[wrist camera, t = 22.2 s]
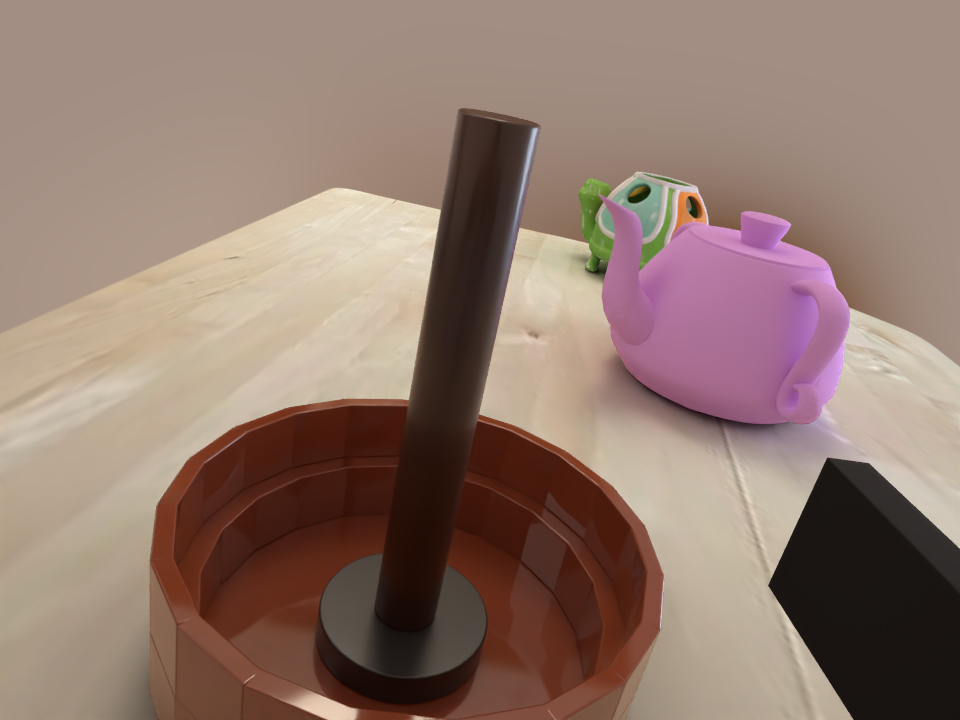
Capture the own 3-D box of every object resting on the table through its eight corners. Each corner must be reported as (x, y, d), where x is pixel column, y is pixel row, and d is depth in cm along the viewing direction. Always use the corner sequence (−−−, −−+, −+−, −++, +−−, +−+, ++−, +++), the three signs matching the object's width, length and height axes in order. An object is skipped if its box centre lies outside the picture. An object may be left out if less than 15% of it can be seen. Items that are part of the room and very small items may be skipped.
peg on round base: (328, 718, 21) (416, 112, 14) (306, 581, 26) (364, 84, 19) (505, 690, 23) (658, 154, 16) (454, 569, 29) (555, 119, 21)
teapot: (512, 319, 60) (547, 160, 55) (721, 338, 67) (771, 197, 62) (616, 458, 41) (686, 235, 36) (895, 466, 48) (990, 277, 42)
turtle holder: (602, 248, 94) (626, 159, 89) (712, 296, 81) (747, 196, 77) (536, 249, 86) (558, 152, 81) (647, 302, 74) (680, 191, 69)
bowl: (124, 976, 15) (119, 804, 13) (168, 520, 29) (169, 396, 27) (706, 820, 21) (774, 683, 19) (516, 503, 35) (542, 400, 33)
